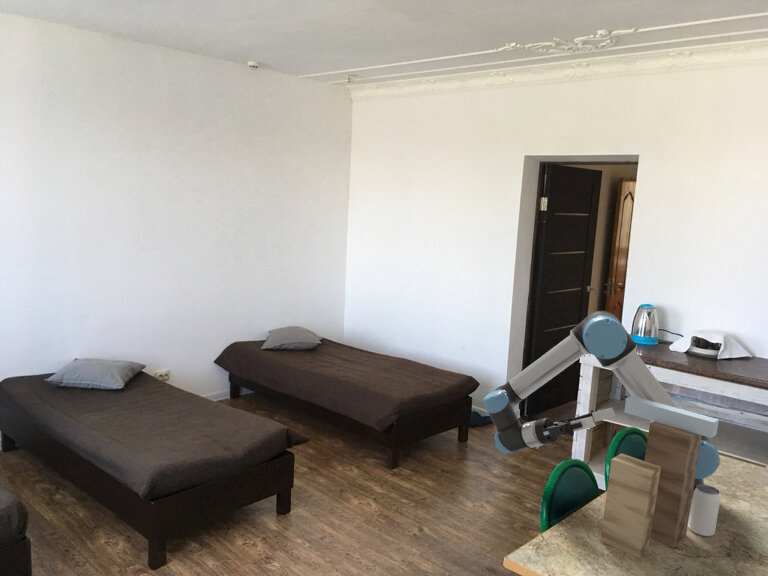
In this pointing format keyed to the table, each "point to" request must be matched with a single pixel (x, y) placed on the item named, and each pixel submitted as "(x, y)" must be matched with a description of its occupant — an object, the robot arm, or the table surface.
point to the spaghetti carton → (672, 416)
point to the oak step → (630, 504)
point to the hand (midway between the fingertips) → (604, 416)
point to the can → (704, 510)
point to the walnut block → (672, 479)
